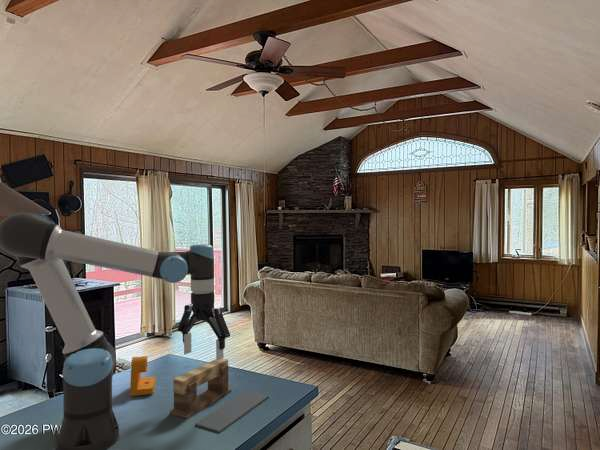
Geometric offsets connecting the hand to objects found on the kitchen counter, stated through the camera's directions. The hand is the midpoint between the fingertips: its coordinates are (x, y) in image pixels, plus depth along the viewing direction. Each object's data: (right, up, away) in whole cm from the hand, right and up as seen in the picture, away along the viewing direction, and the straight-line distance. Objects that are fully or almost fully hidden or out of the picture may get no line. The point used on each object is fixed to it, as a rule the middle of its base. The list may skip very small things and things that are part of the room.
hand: (203, 356), depth 134 cm
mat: (+11, -15, -6) cm, 20 cm away
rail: (0, -8, 0) cm, 8 cm away
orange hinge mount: (-23, -15, +9) cm, 29 cm away
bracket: (0, -15, 0) cm, 15 cm away
